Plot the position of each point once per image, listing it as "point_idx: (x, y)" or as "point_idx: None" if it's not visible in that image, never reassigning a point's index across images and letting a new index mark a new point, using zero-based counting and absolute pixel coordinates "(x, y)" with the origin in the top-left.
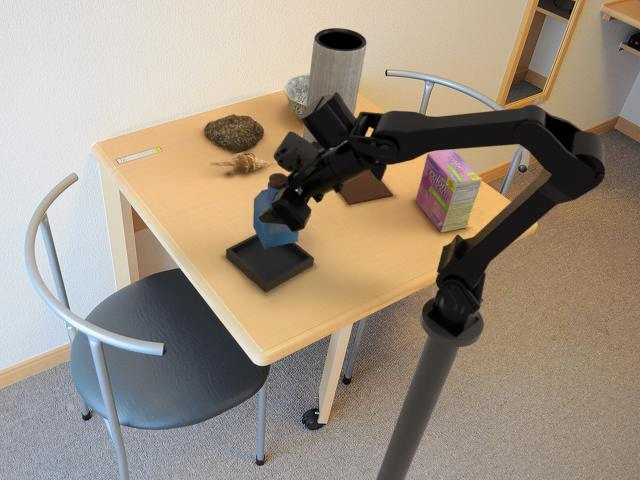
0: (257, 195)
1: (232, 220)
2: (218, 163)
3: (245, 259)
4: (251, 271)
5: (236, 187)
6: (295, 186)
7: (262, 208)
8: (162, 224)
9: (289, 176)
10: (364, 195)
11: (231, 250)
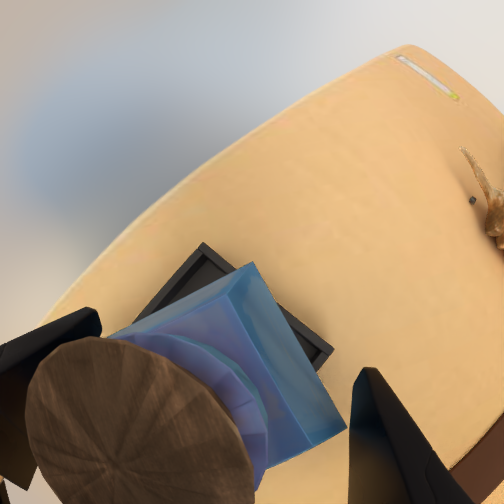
0: (242, 272)
1: (348, 237)
2: (475, 166)
3: None
4: (135, 319)
5: (450, 224)
6: (356, 483)
7: (145, 320)
8: (284, 113)
9: (397, 469)
10: (469, 484)
11: (200, 255)
